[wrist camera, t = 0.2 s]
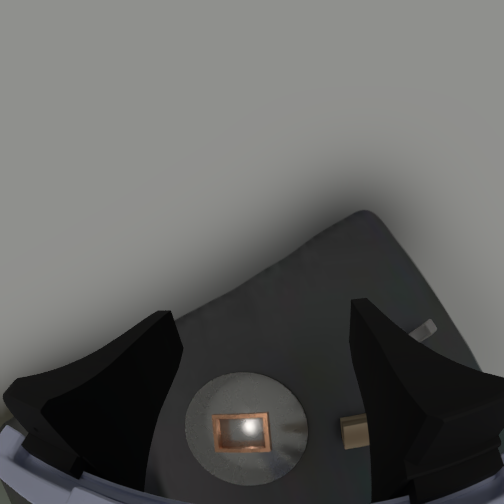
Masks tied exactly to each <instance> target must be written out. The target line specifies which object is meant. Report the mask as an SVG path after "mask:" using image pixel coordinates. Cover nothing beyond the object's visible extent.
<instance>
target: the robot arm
mask: <svg viewBox="0 0 504 504" xmlns="http://www.w3.org/2000/svg"><path fill="white" fill-rule="evenodd" d="M349 343H350V350H351V356H352V363H353V366H354V370H355V374H356V377H357V381H358V384H359V388H360V392H361V396H362V399H363V403H364V407H365V412H366V417H367V425H368V433H369V444H370V456H371V478H372V501H371V504H504V452H503V453H502V454H501V455H500V453H499V450H498V447H499V446H500V445H501V440H500V438H499V433H500V432H501V431H502V430H503V428H504V378H503V377H499V376H495V375H492V374H488V373H484V372H480V371H477V370H475V369H472V368H469V367H466V366H464V365H461V364H459V363H456V362H454V361H452V360H450V359H448V358H446V357H444V356H442V355H440V354H438V353H436V352H434V351H433V350H431V349H429V348H428V347H426V346H425V345H423V344H421V343H420V342H418V341H417V340H415V339H414V338H413V337H411V336H410V335H409V334H407V333H406V332H405V331H403V330H402V329H401V328H400V327H398V326H397V325H396V324H395V323H393V322H392V321H391V320H390V319H389V318H388V317H387V316H385V315H384V314H383V313H382V312H381V311H380V310H379V309H378V308H377V307H376V306H375V305H374V304H373V303H371V302H370V301H369V300H368V299H367V298H362V299H353V300H351V317H350V336H349ZM183 349H184V348H183V345H182V342H181V340H180V337H179V334H178V331H177V328H176V325H175V322H174V319H173V316H172V313H171V311H157V312H155V313H153V314H152V315H150V316H148V317H147V318H145V319H144V320H143V321H141V322H140V323H138V324H137V325H135V326H134V327H133V328H131V329H130V330H128V331H127V332H125V333H124V334H122V335H121V336H119V337H118V338H116V339H115V340H113V341H112V342H110V343H109V344H107V345H106V346H104V347H103V348H101V349H99V350H97V351H95V352H94V353H92V354H90V355H88V356H86V357H84V358H82V359H80V360H77V361H75V362H73V363H71V364H68V365H65V366H63V367H60V368H57V369H54V370H51V371H48V372H44V373H41V374H37V375H32V376H27V377H22V378H17V379H16V380H15V381H14V382H13V383H12V384H11V385H10V387H9V388H8V389H7V390H6V391H5V393H4V394H3V400H4V402H5V404H6V406H7V407H8V408H9V410H10V411H11V413H12V414H13V415H14V417H15V418H16V419H17V420H18V421H19V422H20V424H21V425H22V426H23V427H24V428H25V429H26V430H27V431H28V432H29V433H28V435H27V436H26V437H25V436H24V435H23V434H21V433H20V432H18V431H17V430H15V429H13V428H12V427H10V426H9V425H6V426H5V428H4V429H3V431H2V432H1V434H0V478H1V479H2V480H3V481H4V482H6V483H7V484H8V485H9V486H10V487H12V488H13V489H14V490H15V491H17V492H18V493H19V494H20V495H22V496H23V497H24V498H26V499H27V500H28V501H30V502H31V503H32V504H193V503H187V502H182V501H177V500H173V499H168V498H164V497H160V496H156V495H152V494H148V493H145V492H144V485H145V476H146V468H147V462H148V456H149V451H150V446H151V442H152V438H153V433H154V430H155V426H156V422H157V419H158V416H159V413H160V410H161V408H162V405H163V403H164V401H165V398H166V396H167V394H168V391H169V389H170V387H171V385H172V382H173V380H174V377H175V375H176V373H177V370H178V368H179V364H180V361H181V357H182V353H183Z"/></svg>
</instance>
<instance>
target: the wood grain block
mask: <svg viewBox="0 0 504 504" xmlns="http://www.w3.org/2000/svg"><path fill="white" fill-rule="evenodd" d="M340 423H341V435H342V440H343V444H344V448H345V449H351V448H356V447H362V446H366V445H370V444H369V433H368V425H367V417H366V413H364V414H359V415H354V416H349V417H344V418H340Z"/></svg>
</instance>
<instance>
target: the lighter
mask: <svg viewBox="0 0 504 504" xmlns="http://www.w3.org/2000/svg"><path fill="white" fill-rule="evenodd" d="M436 330H437V328H436V326H435V324H434V323H433V321H432V320H431V319H429V320H427V321H426V322H425V323H423V324H422V325H420V326H419V327H417V328H416V329H414V330H413V331H412V332H410V333H409V335H410V336H411V337H413V338H414V339H415V340H417V341H418V342H421V341H423V340H425V339H426V338H428V337H429V336H431V335H432V334H433V333H434V332H435V331H436Z"/></svg>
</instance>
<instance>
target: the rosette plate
mask: <svg viewBox="0 0 504 504" xmlns="http://www.w3.org/2000/svg"><path fill="white" fill-rule="evenodd" d="M185 432H186V438H187V442H188V445H189V447H190V449H191V452H192V453H193V455H194V456H195V458H196V459H197V461H198V462H199V463H200V464H201V465H202V466H203V467H204V468H205V469H206V470H207V471H208V472H210V473H211V474H213V475H214V476H216V477H218V478H220V479H222V480H224V481H226V482H230V483H233V484H238V485H247V486H252V485H261V484H266V483H269V482H272V481H275V480H277V479H279V478H281V477H282V476H284V475H286V474H287V473H288V472H289V471H290V470H292V469H293V468H294V466H295V465H296V464H297V463H298V461H299V460H300V458H301V457H302V455H303V453H304V450H305V447H306V444H307V439H308V422H307V417H306V414H305V411H304V409H303V407H302V405H301V403H300V402H299V400H298V399H297V397H296V396H295V395H294V394H293V393H292V392H291V391H290V390H289V389H288V388H287V387H286V386H284V385H283V384H281V383H280V382H278V381H276V380H274V379H273V378H270V377H268V376H265V375H261V374H257V373H249V372H237V373H230V374H226V375H222V376H220V377H218V378H215V379H213V380H212V381H210V382H208V383H207V384H206V385H204V386H203V387H202V388H201V389H200V390H199V391H198V392H197V393H196V395H195V396H194V397H193V399H192V401H191V403H190V405H189V407H188V410H187V414H186V419H185Z"/></svg>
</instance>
